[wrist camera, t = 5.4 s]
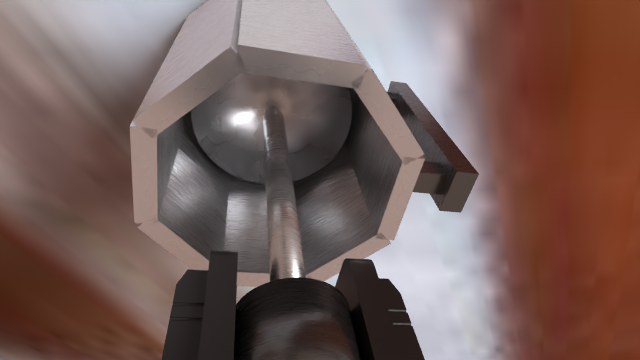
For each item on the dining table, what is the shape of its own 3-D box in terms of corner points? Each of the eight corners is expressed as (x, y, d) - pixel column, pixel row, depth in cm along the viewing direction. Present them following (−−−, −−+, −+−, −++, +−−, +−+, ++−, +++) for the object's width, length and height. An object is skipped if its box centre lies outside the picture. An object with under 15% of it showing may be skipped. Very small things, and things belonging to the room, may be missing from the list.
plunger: (195, 18, 18) (63, 312, 5) (365, 46, 20) (566, 323, 7) (190, 168, 22) (105, 537, 9) (331, 181, 24) (420, 512, 11)
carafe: (188, -41, 23) (125, 26, 12) (411, 3, 26) (537, 91, 14) (184, 124, 28) (136, 282, 17) (369, 145, 31) (437, 293, 20)
